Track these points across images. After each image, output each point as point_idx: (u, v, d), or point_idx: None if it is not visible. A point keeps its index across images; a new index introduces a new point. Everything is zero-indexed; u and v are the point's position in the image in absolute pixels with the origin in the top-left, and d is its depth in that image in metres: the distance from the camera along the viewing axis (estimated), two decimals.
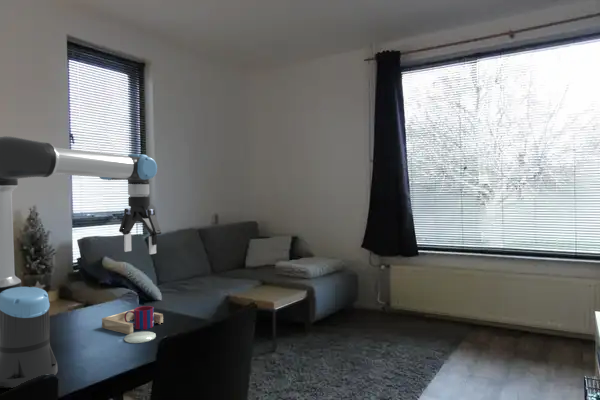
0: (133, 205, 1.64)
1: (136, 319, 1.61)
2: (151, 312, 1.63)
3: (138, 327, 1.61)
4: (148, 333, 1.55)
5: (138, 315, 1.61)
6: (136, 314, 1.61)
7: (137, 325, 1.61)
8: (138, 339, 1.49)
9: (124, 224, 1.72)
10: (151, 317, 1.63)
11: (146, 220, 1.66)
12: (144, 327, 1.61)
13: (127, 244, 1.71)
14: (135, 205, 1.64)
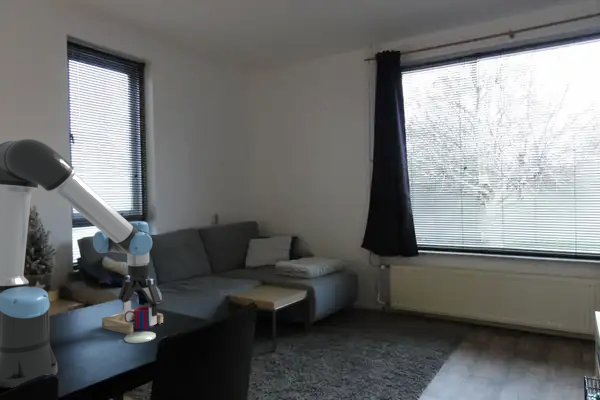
0: (133, 275, 1.60)
1: (136, 319, 1.61)
2: None
3: (138, 327, 1.61)
4: (148, 333, 1.55)
5: (138, 315, 1.61)
6: (136, 314, 1.61)
7: (137, 325, 1.61)
8: (138, 339, 1.49)
9: (124, 291, 1.67)
10: None
11: (146, 290, 1.61)
12: (144, 327, 1.61)
13: None
14: (134, 275, 1.60)
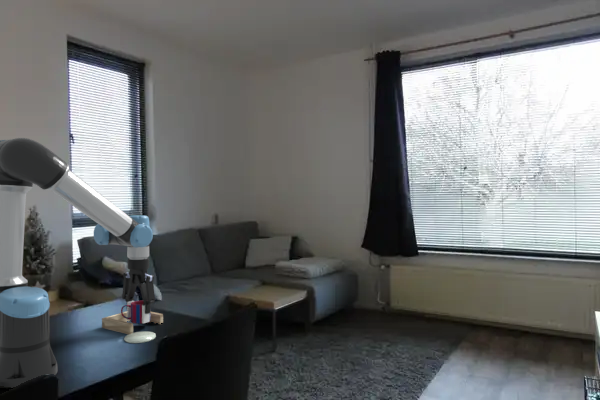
0: (132, 268, 1.60)
1: (133, 313, 1.61)
2: None
3: (135, 321, 1.61)
4: (148, 333, 1.55)
5: (135, 309, 1.61)
6: (133, 308, 1.61)
7: (134, 319, 1.61)
8: (138, 339, 1.49)
9: (126, 289, 1.66)
10: None
11: (145, 284, 1.61)
12: (140, 321, 1.61)
13: (130, 312, 1.65)
14: (134, 268, 1.60)
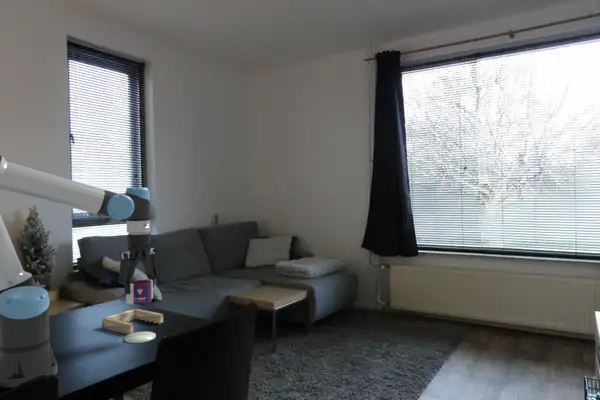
0: None
1: None
2: (134, 287, 1.48)
3: None
4: (148, 333, 1.55)
5: None
6: None
7: None
8: (138, 339, 1.49)
9: (151, 266, 1.57)
10: (134, 292, 1.48)
11: None
12: None
13: None
14: None
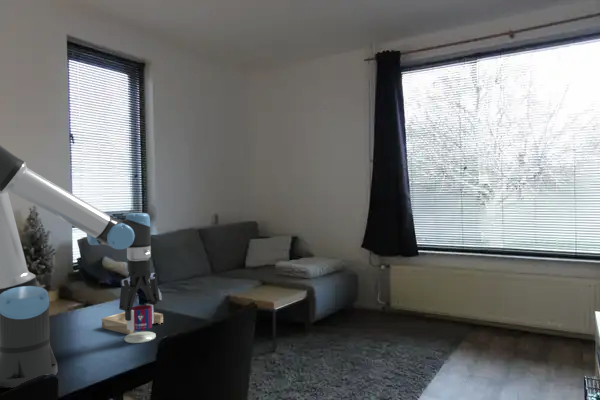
0: None
1: None
2: (134, 313, 1.48)
3: None
4: (148, 333, 1.55)
5: None
6: None
7: None
8: (138, 339, 1.49)
9: (152, 290, 1.57)
10: (134, 319, 1.48)
11: None
12: None
13: None
14: None
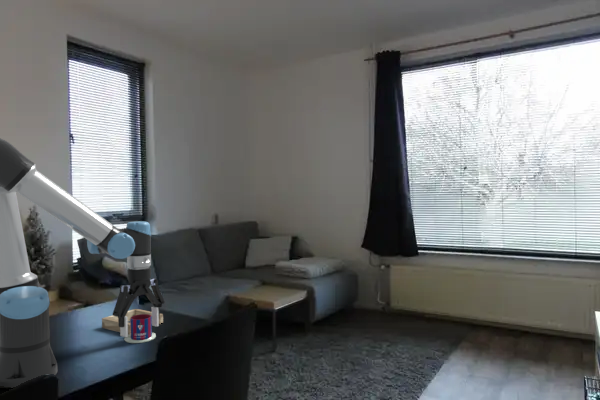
0: None
1: None
2: (134, 323, 1.48)
3: None
4: None
5: None
6: None
7: None
8: None
9: (155, 295, 1.58)
10: (134, 328, 1.48)
11: (128, 296, 1.48)
12: None
13: (153, 317, 1.57)
14: None
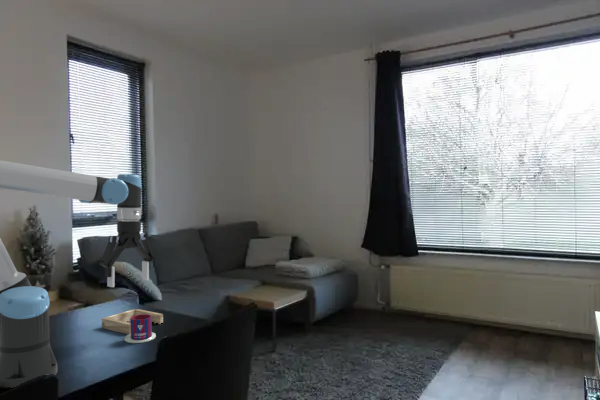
0: None
1: None
2: (134, 323, 1.48)
3: None
4: None
5: None
6: None
7: None
8: None
9: (146, 250, 1.58)
10: (134, 328, 1.48)
11: (117, 248, 1.48)
12: None
13: (143, 272, 1.57)
14: None
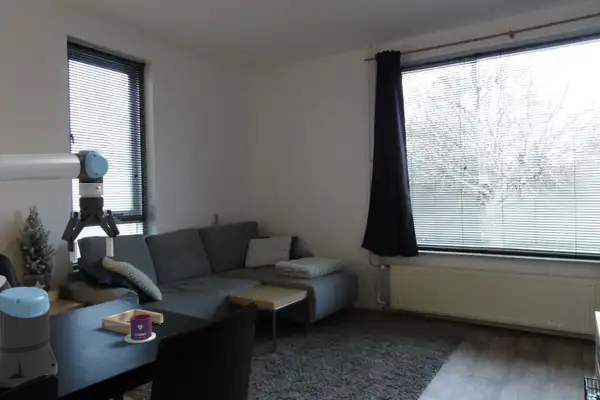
0: None
1: None
2: (134, 323, 1.48)
3: None
4: None
5: None
6: None
7: None
8: None
9: (110, 226, 1.59)
10: (134, 328, 1.48)
11: (79, 223, 1.49)
12: None
13: (107, 248, 1.59)
14: None
